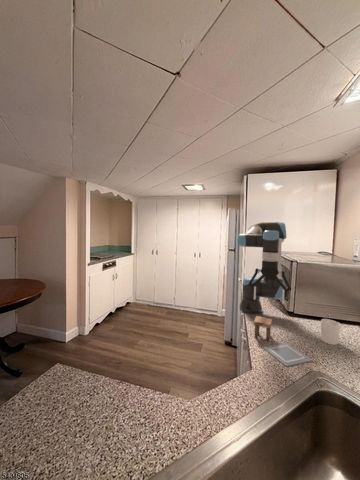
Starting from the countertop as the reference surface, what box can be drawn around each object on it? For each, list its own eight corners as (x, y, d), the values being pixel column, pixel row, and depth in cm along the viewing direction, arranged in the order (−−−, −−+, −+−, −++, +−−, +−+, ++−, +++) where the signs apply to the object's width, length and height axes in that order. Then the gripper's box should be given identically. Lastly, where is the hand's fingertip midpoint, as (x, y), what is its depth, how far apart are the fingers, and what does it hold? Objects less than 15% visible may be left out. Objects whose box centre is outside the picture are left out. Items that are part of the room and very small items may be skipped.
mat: (262, 347, 96) (262, 346, 96) (286, 343, 100) (286, 342, 100) (285, 366, 83) (286, 365, 83) (312, 361, 87) (312, 360, 87)
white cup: (339, 347, 98) (340, 327, 98) (319, 342, 103) (320, 322, 102) (339, 340, 104) (340, 321, 104) (320, 335, 109) (321, 317, 109)
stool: (253, 337, 105) (253, 321, 105) (255, 331, 112) (256, 315, 112) (270, 342, 102) (270, 324, 101) (271, 335, 109) (272, 319, 108)
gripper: (243, 259, 107) (242, 299, 108) (298, 263, 96) (296, 307, 97) (245, 258, 114) (244, 295, 115) (296, 261, 103) (295, 302, 104)
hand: (268, 301), depth 106 cm, fingers open, 13 cm apart
